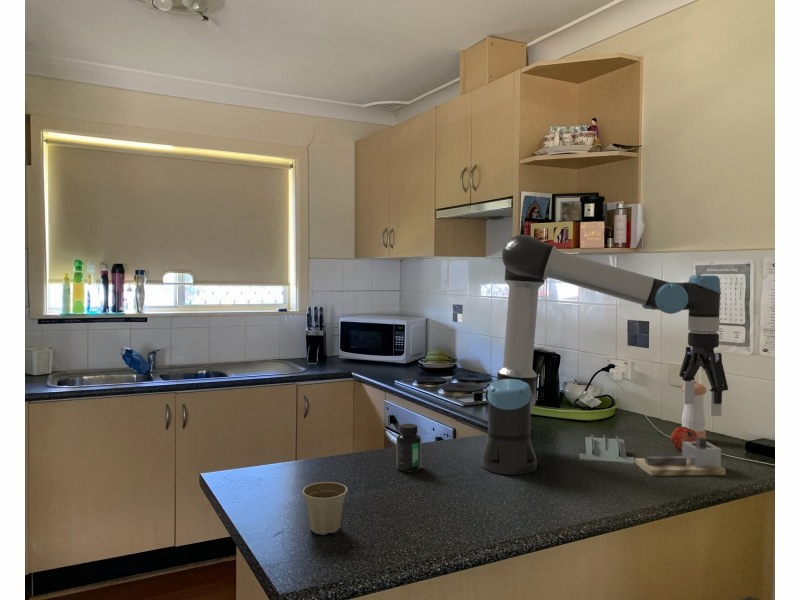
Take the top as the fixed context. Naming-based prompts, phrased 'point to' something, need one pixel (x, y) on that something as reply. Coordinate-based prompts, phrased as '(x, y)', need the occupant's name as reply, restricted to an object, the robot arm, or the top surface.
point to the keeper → (675, 464)
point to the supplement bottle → (408, 448)
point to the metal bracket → (605, 450)
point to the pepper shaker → (695, 412)
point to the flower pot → (325, 505)
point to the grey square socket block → (702, 455)
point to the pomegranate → (682, 436)
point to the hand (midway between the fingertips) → (701, 409)
